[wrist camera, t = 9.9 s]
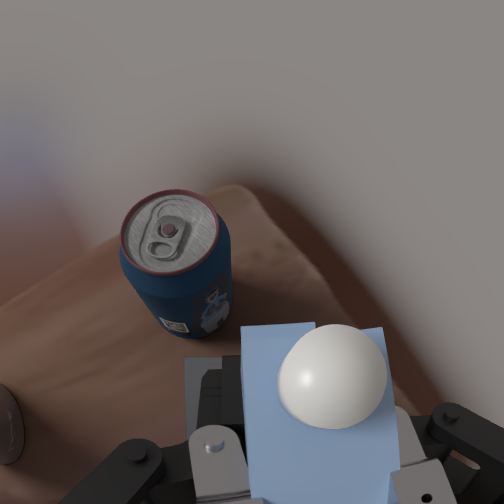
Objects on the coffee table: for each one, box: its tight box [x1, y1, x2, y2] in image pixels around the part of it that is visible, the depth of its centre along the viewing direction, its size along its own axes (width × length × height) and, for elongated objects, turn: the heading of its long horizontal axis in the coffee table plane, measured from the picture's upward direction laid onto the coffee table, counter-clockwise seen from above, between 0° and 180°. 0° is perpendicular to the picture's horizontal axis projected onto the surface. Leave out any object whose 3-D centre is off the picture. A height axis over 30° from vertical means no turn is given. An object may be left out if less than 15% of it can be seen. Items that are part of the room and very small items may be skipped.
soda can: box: [120, 189, 232, 339], centre depth 21 cm, size 7×7×12 cm
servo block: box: [241, 322, 400, 504], centre depth 9 cm, size 8×3×12 cm, turn 3°
